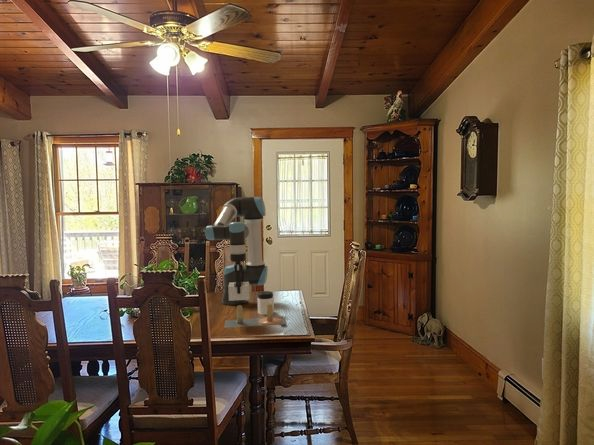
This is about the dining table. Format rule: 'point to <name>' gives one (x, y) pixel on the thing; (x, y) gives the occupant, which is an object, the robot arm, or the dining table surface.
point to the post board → (255, 319)
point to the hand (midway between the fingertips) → (239, 297)
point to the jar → (264, 301)
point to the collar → (233, 291)
